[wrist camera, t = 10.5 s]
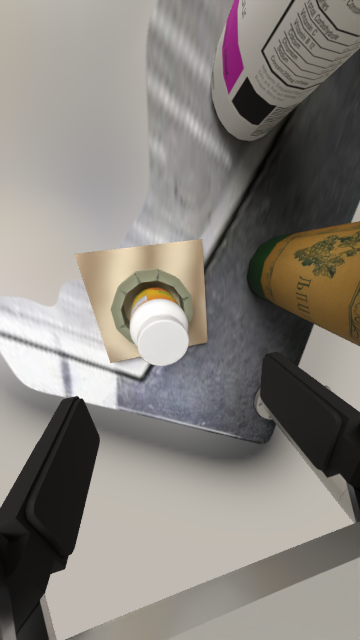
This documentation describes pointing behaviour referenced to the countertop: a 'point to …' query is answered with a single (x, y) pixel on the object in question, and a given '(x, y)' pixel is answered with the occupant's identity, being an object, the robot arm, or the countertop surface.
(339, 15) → the supplement can
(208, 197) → the countertop surface
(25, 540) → the robot arm
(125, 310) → the collar holder
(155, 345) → the supplement bottle
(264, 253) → the bottle
